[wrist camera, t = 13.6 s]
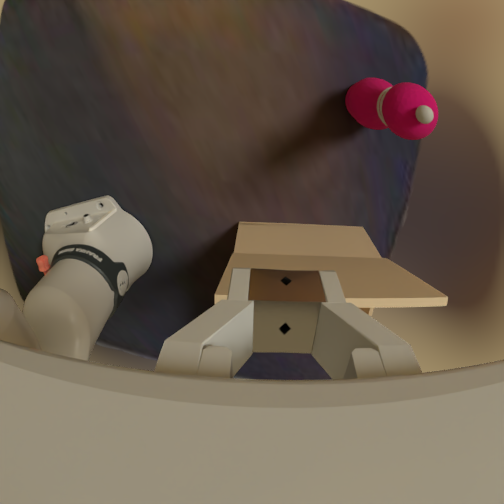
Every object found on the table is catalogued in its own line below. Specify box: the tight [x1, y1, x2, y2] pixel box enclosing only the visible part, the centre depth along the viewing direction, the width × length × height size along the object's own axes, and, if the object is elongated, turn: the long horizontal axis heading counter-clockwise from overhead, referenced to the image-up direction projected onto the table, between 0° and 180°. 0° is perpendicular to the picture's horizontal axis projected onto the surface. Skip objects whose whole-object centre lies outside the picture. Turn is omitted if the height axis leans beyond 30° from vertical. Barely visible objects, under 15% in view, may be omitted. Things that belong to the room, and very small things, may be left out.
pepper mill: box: [345, 78, 438, 140], centre depth 32 cm, size 7×7×20 cm
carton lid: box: [215, 253, 448, 308], centre depth 33 cm, size 20×16×1 cm
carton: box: [234, 222, 381, 317], centre depth 50 cm, size 20×16×12 cm
